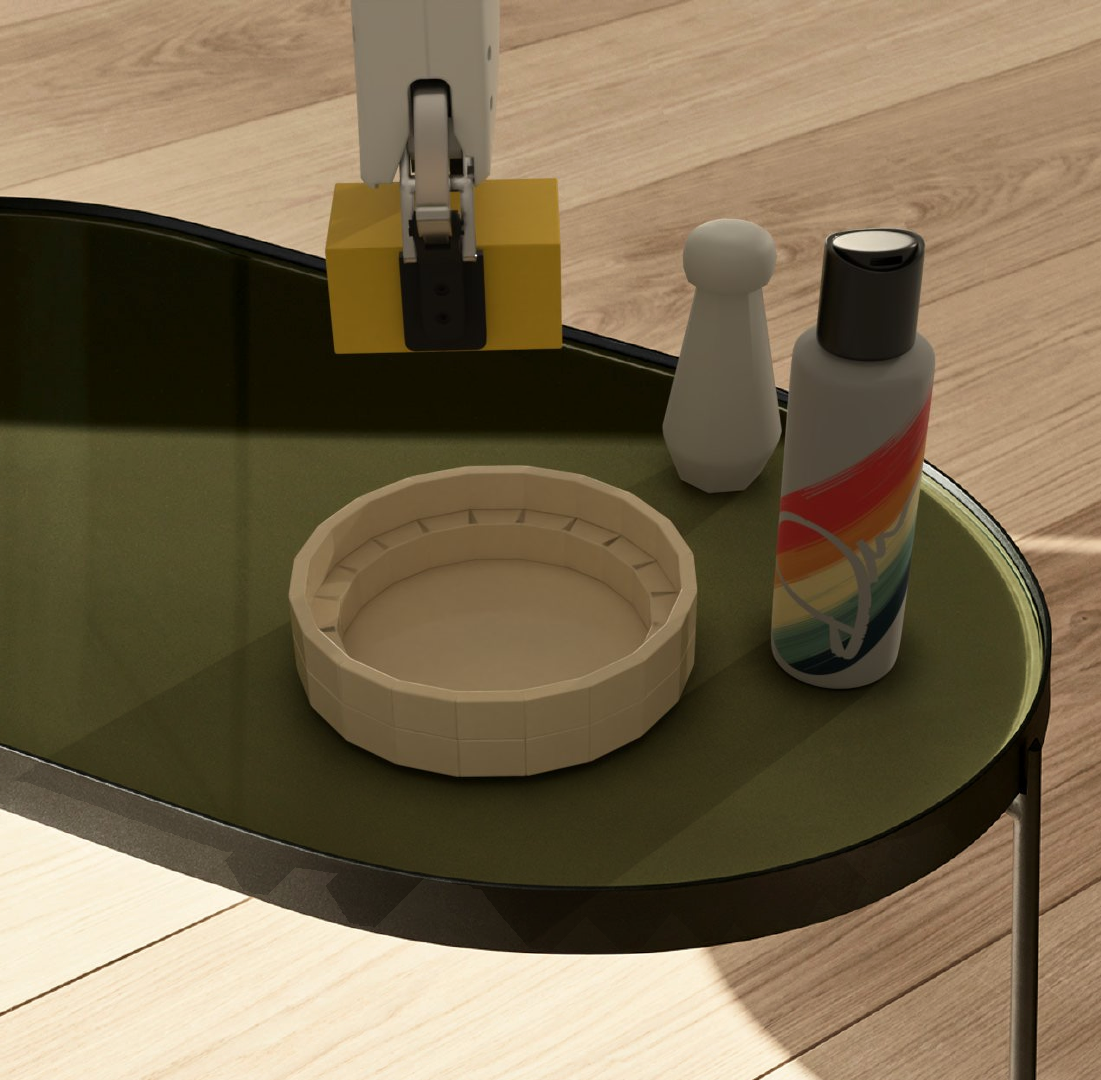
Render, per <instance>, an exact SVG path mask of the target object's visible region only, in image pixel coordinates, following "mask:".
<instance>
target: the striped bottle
mask: <svg viewBox="0 0 1101 1080" xmlns="http://www.w3.org/2000/svg"><path fill="white" fill-rule="evenodd" d="M823 246H824V247H823V256H822V267H821V277H820V285H819V286H820V287H819V295H818V296H819V297H818V308H817V317H816V324H814V325H812V326H810V327H808V328H807V329H806V330H804V331H803V332H802V333H800V335H799V336H798V337H797V339H796V340H795V342H794V345H793V347H792V353H791V360H790V361H791V362H790V369H789V370H790V371H789V383H788V397H787V409H786V422H785V423H786V424H785V434H784V435H785V436H784V450H783V461H782V463H783V464H782V474H781V475H782V476H781V491H780V500H779V501H780V502H779V514H778V515H779V516H778V529H777V542H776V555H775V568H774V569H775V570H774V581H773V582H774V583H773V594H772V595H773V597H772V610H771V627H770V629H771V631H770V642H771V643H770V645H771V651H772V655H773V657H774V659H775V661H776V662H777V664H778V665H779V666H780V668H781V669H783V670H784V672H786V673H787V674H788V675H790V676H791V677H792V678H794V679H796V680H798V681H801V682H803V683H806V684H809V685H811V686H816V687H820V688H826V689H838V690H839V689H841V690H842V689H843V690H844V689H845V690H846V689H853V688H860V687H863V686H866V685H870V684H872V683H875V682H876V681H879V680H880V679H881V678H883V677H884V676H886V675H887V674H888V673H889V672H890V671H891V670H892V668H893V667H894V665H895V663H896V661H897V658H898V655H899V649H900V647H901V646H900V644H901V639H902V634H903V633H902V632H903V626H904V619H905V610H906V602H907V595H908V587H909V579H910V571H911V563H912V556H913V547H914V541H915V540H914V539H915V532H916V524H917V516H918V508H919V500H920V493H921V492H920V491H921V485H922V478H923V477H922V476H923V471H924V470H923V468H924V462H925V453H926V446H927V438H928V437H927V436H928V429H929V422H930V416H931V415H930V414H931V405H932V398H933V389H934V380H935V373H936V354H935V350H934V347H933V346H932V344H931V343H930V341H929V340H928V339H927V338H926V337H925V336H924V335H922V333H920V332H918V321H919V312H920V304H921V303H920V302H921V292H922V284H923V283H922V282H923V274H924V263H925V255H926V243H925V240H924V238H923V237H922V235H920V234H919V233H917V232H916V231H914V230H910V229H906V228H900V227H868V228H867V227H866V228H856V229H855V228H854V229H847V230H842V231H836V232H833V233H830V234H829V235H827V237H826V238H825V240H824V245H823Z"/></svg>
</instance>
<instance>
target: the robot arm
mask: <svg viewBox="0 0 1101 1080" xmlns="http://www.w3.org/2000/svg"><path fill="white" fill-rule="evenodd" d="M349 1H350V16H351V32H352V33H351V34H352V46H353V47H352V48H353V50H352V51H353V63H354V78H355V95H356V111H357V127H358V128H357V129H358V130H357V131H358V146H359V149H358V150H359V171H360V179H361V180H362V183H365V184H366V185H367V186H368V187H370V188H371V189H378V187H379V184H392V182H394V180H395V176H396V174H397V172H399V181H398V182H399V188H400V196H401V218H402V241H403V252H399V270H400V284H401V298H402V312H403V326H404V340H405V346H406V347H407V348H408V349H409V350H411V351H415V352H414V353H420V352H419V351H435V352H462V351H461V350H477V351H481V350H480V349H482V348H484V347H485V345H486V342H487V328H486V304H485V280H484V256H483V250H476V225H475V195H474V187H475V186H478V185H480V184H481V183H482V182H484V181H485V180H488V178H489V177H490V175H491V170H492V169H491V168H492V158H493V148H494V140H495V139H494V138H495V130H496V129H495V128H496V115H497V103H498V102H497V101H498V88H499V71H500V70H499V68H500V36H501V35H500V34H501V29H500V28H501V26H500V25H501V4H500V3H501V2H500V1H501V0H349ZM398 170H399V171H398ZM450 192H460V207H461V218H460V214H459V213H458V210H452V207H451V194H450Z"/></svg>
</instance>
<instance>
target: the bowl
mask: <svg viewBox="0 0 1101 1080" xmlns="http://www.w3.org/2000/svg"><path fill="white" fill-rule="evenodd" d="M696 574H697V573H696V564H695V555H694V553H693V551H692V550H691V548H690V547H689V545H688V544H687V542H686V541H685V540H684V538H683V537H682V535H681V534H680V532H679V530H678V529H677V528H676V526H675V525H674V524H673V522H672V521H671V520H670V519H669V518H668V517H666V516H665V515H664V514H662V513H661V512H659V511H658V510H656V509H655V508H653V507H652V506H651V505H649V504H648V503H647V502H645V501H644V500H642V499H641V498H639V497H638V496H637V495H635V494H634V493H632V492H630V491H627V490H624V489H621V488H618V487H617V486H614V485H611V484H609V483H606V482H603V481H600V480H598V479H595V478H592V477H589V476H587V475H584V474H581V473H575V472H569V471H564V470H556V469H551V468H543V467H538V466H532V465H522V464H521V465H520V464H519V465H515V464H514V465H466V466H460V467H455V468H450V469H443V470H439V471H432V472H428V473H427V472H426V473H422V474H417V475H412V476H409V477H406V478H403V479H400V480H398V481H396V482H393V483H390V484H388V485H385V486H383V487H380V488H377V489H375V490H373V491H369V492H368V493H365V494H362V495H359V497H356V498H355V499H353V500H352V501H351V502H349V503H348V504H346V505H344V507H342V508H341V509H339V510H337V512H335V513H334V514H332V515H331V516H329V517H328V518H327V519H325V520H324V521H322V522H321V523H320V524H318V525H317V526H316V528H315V529H314V530H313V532H312V533H311V535H310V536H309V537H308V539H307V540H306V541H305V543H304V544H303V546H302V547H301V548H300V550H299V551H298V553H297V554H296V556H295V557H294V558H293V564H292V569H291V576H290V582H289V590H288V594H287V595H288V596H287V597H288V608H289V615H290V624H291V631H292V641H293V649H294V658H295V666H296V671H297V673H298V676H299V679H300V681H301V684H302V687H303V689H304V692H305V695H306V697H307V700H308V702H309V705H310V706H311V708H312V709H313V710H314V711H315V712H316V713H317V714H318V715H320V716H321V717H322V719H323V720H324V721H326V723H328V724H329V725H330V726H331V728H333V729H334V730H335V731H336V732H337V733H338V734H339V735H340V736H341V737H342V738H343V739H344V740H345V741H346V742H348V743H351V744H353V745H355V746H357V747H359V748H361V749H363V750H366V751H367V752H370V753H372V754H374V755H376V756H378V757H380V758H382V759H384V760H386V761H388V762H390V763H393V764H395V765H398V766H402V767H407V768H412V769H418V770H421V771H426V772H431V773H437V774H442V775H447V776H451V777H456V778H459V777H461V778H463V777H464V778H465V777H466V778H467V777H469V778H472V777H474V778H476V777H526V776H532V775H538V774H543V773H546V772H552V771H555V770H559V769H564V768H569V767H573V766H577V765H582V764H587V763H590V762H593V761H595V760H596V759H597V760H598V759H599V758H601V757H603V756H605V755H607V754H610V753H611V752H613V751H615V750H618V749H619V748H622V747H623V746H625V745H627V744H629V743H631V742H633V741H635V740H637V739H639V738H642V736H644V735H645V734H646V733H647V732H648V731H649V730H650V729H651V728H652V727H654V725H655V724H656V723H658V722H659V721H660V719H662V718H663V717H664V716H666V714H667V713H668V712H669V711H670V710H671V709H672V708H673V707H674V706H675V705H676V704H677V703H678V702H679V701H680V699H681V696H682V693H683V691H684V689H685V686H686V684H687V682H688V679H689V677H690V675H691V672H692V670H693V667H694V665H695V655H696V653H695V652H696V636H697V635H696V633H697V631H696V630H697V613H698V612H697V608H698V581H697V575H696Z"/></svg>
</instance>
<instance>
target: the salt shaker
mask: <svg viewBox="0 0 1101 1080" xmlns="http://www.w3.org/2000/svg"><path fill="white" fill-rule="evenodd" d="M777 255H778V254H777V246H776V242H775V240H774V238H773V236H772V234H771V233H769V232H768V231H767V230H766V229H765V228H763V226H760V225H759V224H757V223H755V222H752V221H749V220H744V219H740V218H718V219H712V220H708V221H706V222H704V223H702V224H700V225H698V226H696V227H695V228H694V229H692V230H691V231H690V233H689V234H688V236H687V238H686V239H685V242H684V247H683V251H682V267H683V271H684V274H685V277H686V279H687V283H689V284H691V285H692V286H694V294H693V297H692V304H691V307H690V312H689V315H688V320H687V324H686V327H685V332H684V336H683V341H682V344H681V348H680V353H679V357H678V360H677V364H676V369H675V373H674V377H673V381H672V384H671V389H670V394H669V398H668V401H667V407H666V410H665V415H664V417H663V418H664V419H663V422H662V434H663V439H664V442H665V445H666V448H667V450H668V453H669V456H670V458H671V460H672V463H673V465H674V467H675V470H676V472H677V475H678V477H679V479H680V480H681V481H683V482H685V483H687V484H689V485H691V486H693V487H695V488H697V489H699V490H701V491H703V492H705V493H707V494H714V493H715V494H716V493H727V492H740V491H745V490H747V488H748V487H749V486H750V485H751V484H752V483H753V482H754V481H755V480H756V479H757V478H758V477H759V476H760V474H761V473H762V472H763V470H764V468H765V466H766V465H767V463H768V462H769V459H770V458H771V457H772V455H773V454H774V452H775V450H776V448H777V446H778V443H779V442H780V439H781V435H782V431H783V430H782V423H781V416H780V409H779V401H778V394H777V387H776V379H775V371H774V366H773V364H774V363H773V358H772V350H771V342H770V336H769V329H768V321H767V314H766V306H765V300H764V299H765V298H764V291H763V288H764V287H766V286H767V285H768V284H769V282H770V280H771V279H772V277H773V275H774V273H775V270H776V266H777V260H778V259H777V258H778V256H777Z"/></svg>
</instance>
